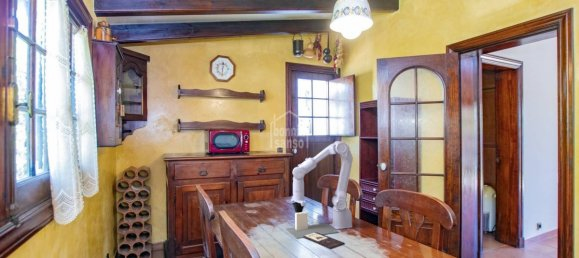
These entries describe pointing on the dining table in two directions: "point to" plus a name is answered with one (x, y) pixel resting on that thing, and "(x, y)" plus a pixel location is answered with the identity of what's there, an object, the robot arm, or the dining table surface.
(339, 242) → the chocolate bar
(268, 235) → the dining table surface
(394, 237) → the dining table surface
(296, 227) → the tile
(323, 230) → the mat
